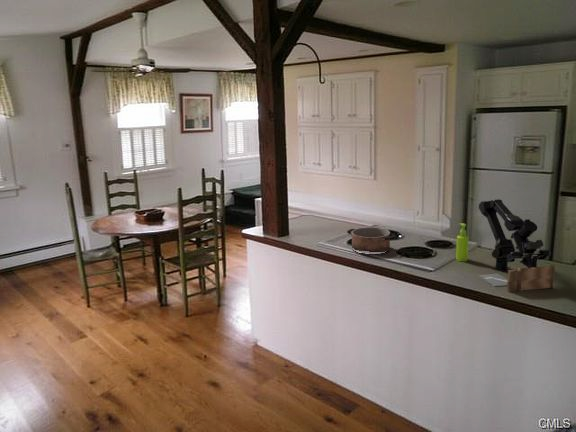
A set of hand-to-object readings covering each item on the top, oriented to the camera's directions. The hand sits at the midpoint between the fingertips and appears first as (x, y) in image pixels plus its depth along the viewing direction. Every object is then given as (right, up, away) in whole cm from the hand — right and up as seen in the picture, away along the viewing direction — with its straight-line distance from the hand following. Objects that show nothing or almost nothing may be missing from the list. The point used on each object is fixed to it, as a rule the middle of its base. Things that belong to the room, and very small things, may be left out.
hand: (535, 272), depth 206 cm
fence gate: (+1, -7, +1) cm, 8 cm away
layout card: (-12, -5, +13) cm, 18 cm away
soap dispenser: (-17, +2, +44) cm, 47 cm away
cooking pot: (-63, +5, +67) cm, 92 cm away
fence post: (-10, -8, 0) cm, 13 cm away
